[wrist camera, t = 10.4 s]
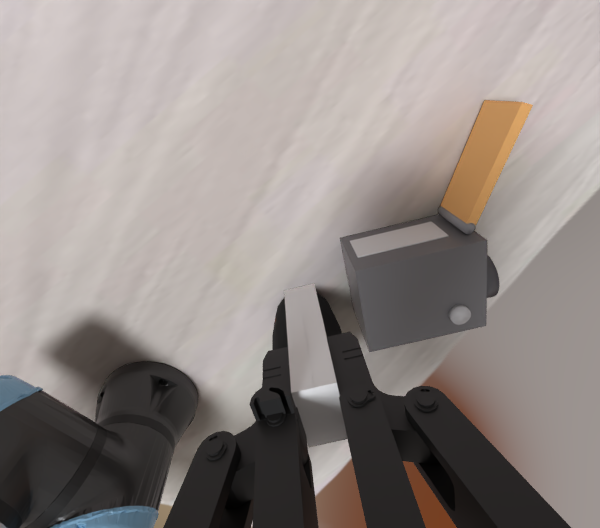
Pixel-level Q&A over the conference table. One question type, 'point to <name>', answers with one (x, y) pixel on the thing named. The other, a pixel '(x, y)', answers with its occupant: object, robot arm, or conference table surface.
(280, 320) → the portable speaker
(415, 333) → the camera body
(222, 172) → the conference table surface
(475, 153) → the side door
